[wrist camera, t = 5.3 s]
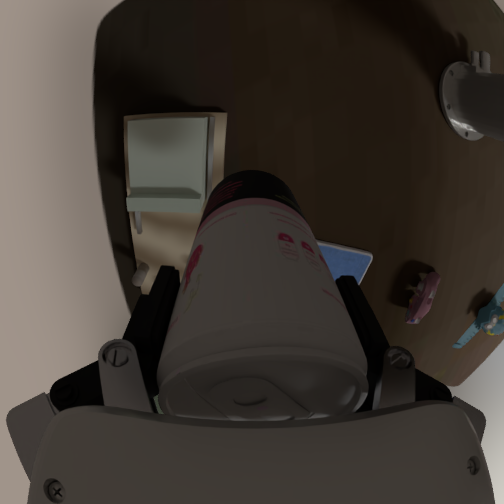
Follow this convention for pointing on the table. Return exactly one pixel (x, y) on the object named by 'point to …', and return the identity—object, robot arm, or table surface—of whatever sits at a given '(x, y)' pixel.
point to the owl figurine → (486, 319)
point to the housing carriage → (167, 164)
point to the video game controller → (422, 298)
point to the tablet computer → (345, 260)
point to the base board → (172, 223)
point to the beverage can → (259, 316)
